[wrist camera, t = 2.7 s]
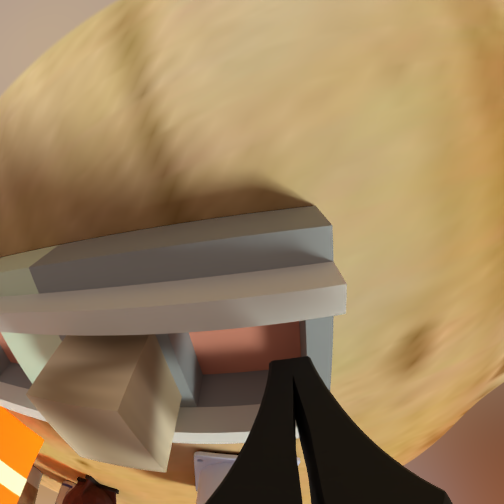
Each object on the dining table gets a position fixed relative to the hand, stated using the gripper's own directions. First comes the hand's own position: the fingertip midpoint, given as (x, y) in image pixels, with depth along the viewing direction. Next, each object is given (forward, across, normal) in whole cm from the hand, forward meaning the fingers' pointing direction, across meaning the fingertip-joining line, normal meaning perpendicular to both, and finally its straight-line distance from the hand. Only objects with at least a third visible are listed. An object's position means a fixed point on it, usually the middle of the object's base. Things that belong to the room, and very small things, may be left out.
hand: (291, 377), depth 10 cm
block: (+1, +7, 0) cm, 7 cm away
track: (+4, +9, 0) cm, 10 cm away
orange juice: (+4, +32, +14) cm, 35 cm away
